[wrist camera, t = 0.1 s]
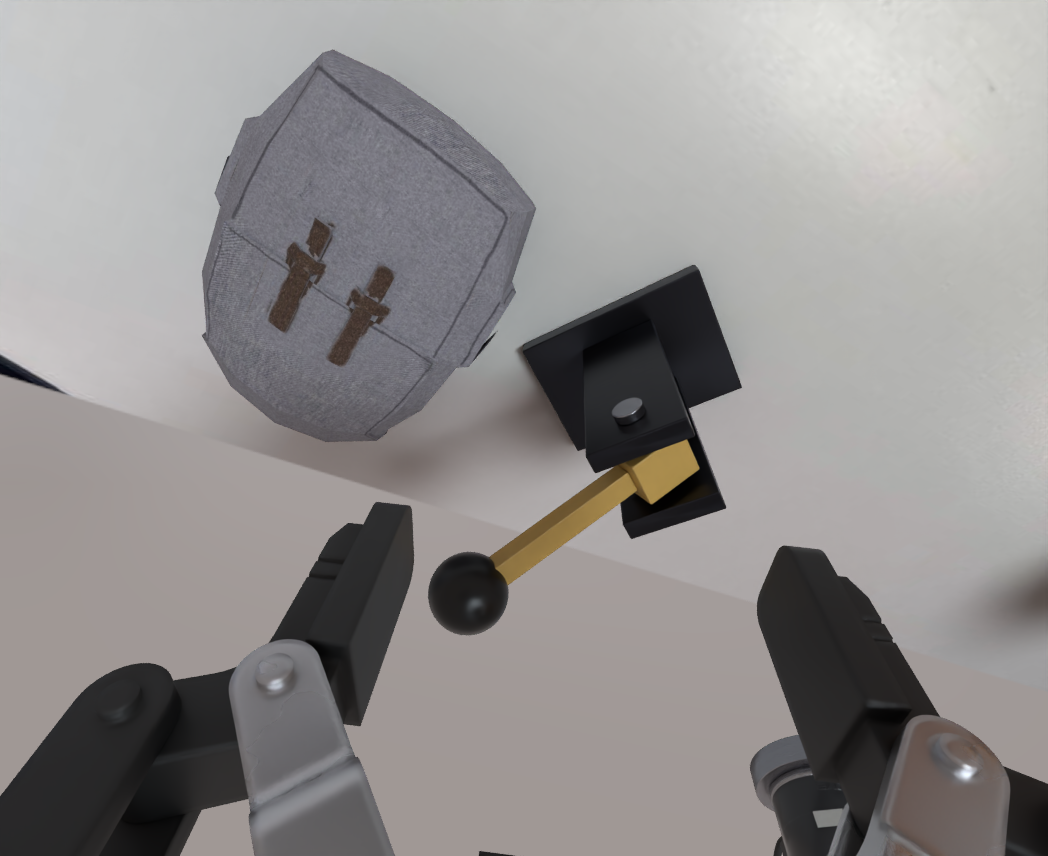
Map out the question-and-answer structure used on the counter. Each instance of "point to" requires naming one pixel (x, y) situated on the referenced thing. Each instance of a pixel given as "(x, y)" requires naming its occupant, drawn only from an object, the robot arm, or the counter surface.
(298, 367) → the soft grey pack
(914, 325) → the counter surface
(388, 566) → the robot arm
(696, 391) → the lock bracket
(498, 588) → the lever
